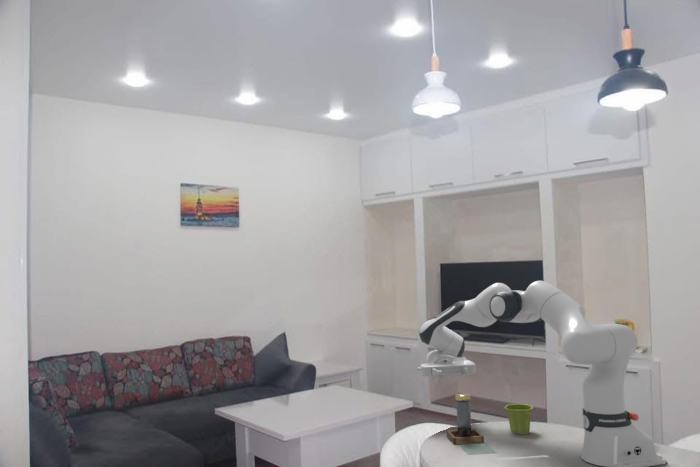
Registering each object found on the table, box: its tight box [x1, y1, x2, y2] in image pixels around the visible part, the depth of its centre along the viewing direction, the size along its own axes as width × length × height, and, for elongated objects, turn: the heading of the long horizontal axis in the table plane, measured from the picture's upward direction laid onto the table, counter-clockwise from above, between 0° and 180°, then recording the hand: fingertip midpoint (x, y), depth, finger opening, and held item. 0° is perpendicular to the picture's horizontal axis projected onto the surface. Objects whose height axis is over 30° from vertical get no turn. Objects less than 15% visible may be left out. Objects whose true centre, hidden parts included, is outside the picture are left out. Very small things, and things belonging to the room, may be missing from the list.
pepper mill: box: [454, 392, 473, 437], centre depth 192 cm, size 5×5×14 cm
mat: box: [460, 443, 497, 456], centre depth 180 cm, size 9×9×1 cm
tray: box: [446, 428, 485, 445], centre depth 191 cm, size 10×9×2 cm
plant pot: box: [504, 403, 533, 435], centre depth 199 cm, size 9×9×9 cm
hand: (452, 372), depth 205 cm, fingers open, 8 cm apart
